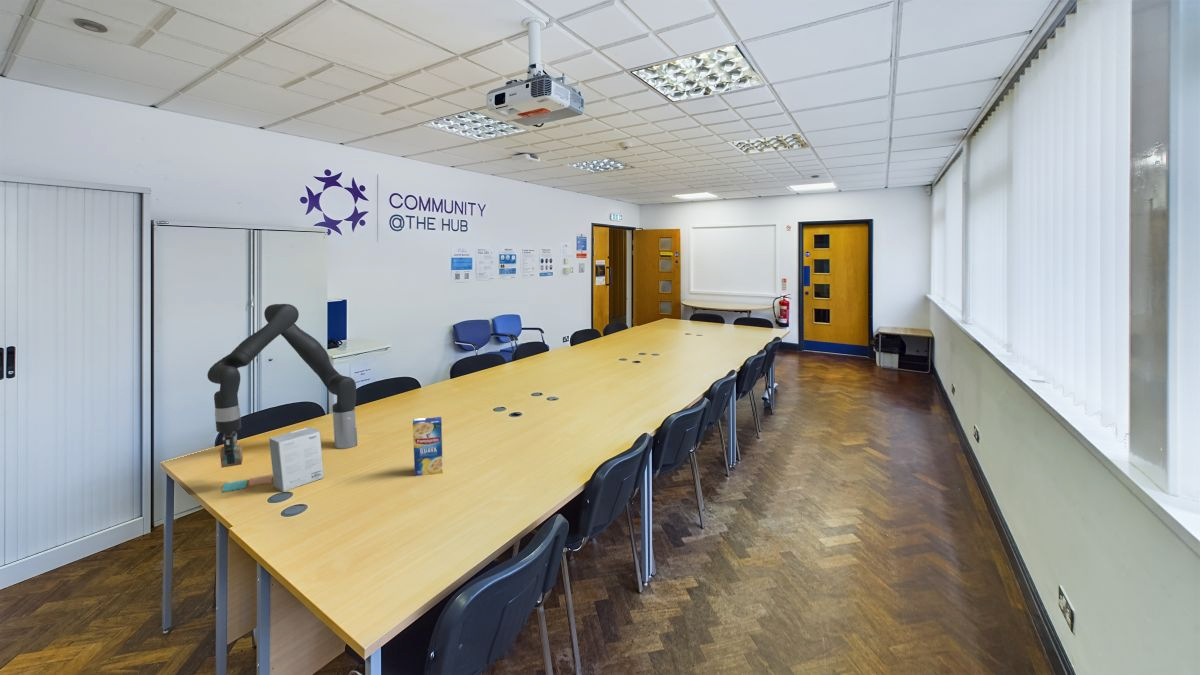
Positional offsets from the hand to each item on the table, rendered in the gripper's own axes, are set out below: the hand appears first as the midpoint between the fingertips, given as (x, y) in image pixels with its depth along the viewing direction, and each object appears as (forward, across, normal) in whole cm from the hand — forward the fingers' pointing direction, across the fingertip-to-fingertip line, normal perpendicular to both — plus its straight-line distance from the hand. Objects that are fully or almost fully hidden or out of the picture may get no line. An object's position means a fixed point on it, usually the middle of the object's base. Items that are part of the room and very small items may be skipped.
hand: (232, 460), depth 186 cm
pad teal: (+11, 0, 0) cm, 11 cm away
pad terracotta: (+11, +1, -8) cm, 13 cm away
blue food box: (+11, -21, -67) cm, 71 cm away
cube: (+1, 0, 0) cm, 1 cm away
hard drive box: (+11, -8, -21) cm, 25 cm away
